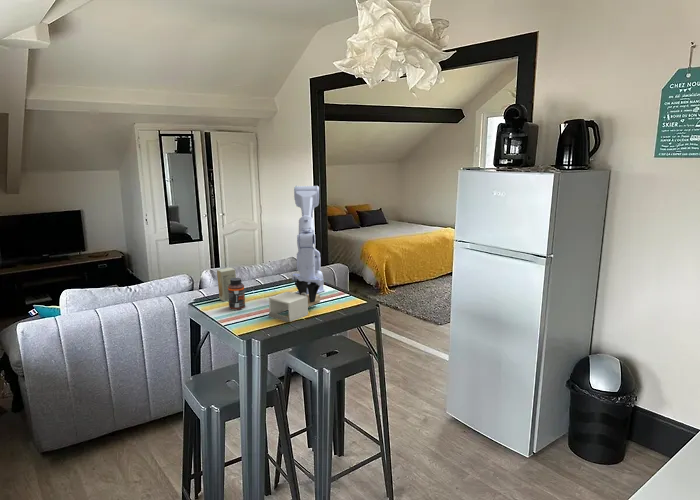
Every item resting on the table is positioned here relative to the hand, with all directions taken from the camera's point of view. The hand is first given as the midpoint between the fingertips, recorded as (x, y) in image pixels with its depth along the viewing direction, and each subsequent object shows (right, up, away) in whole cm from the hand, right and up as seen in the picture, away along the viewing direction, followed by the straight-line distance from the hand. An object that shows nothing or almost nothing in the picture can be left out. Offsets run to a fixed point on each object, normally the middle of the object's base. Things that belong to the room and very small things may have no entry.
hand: (308, 300), depth 180 cm
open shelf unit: (-6, -4, -7) cm, 10 cm away
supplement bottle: (-27, -3, +2) cm, 27 cm away
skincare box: (-33, -1, +13) cm, 35 cm away
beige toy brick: (0, -1, 0) cm, 1 cm away
